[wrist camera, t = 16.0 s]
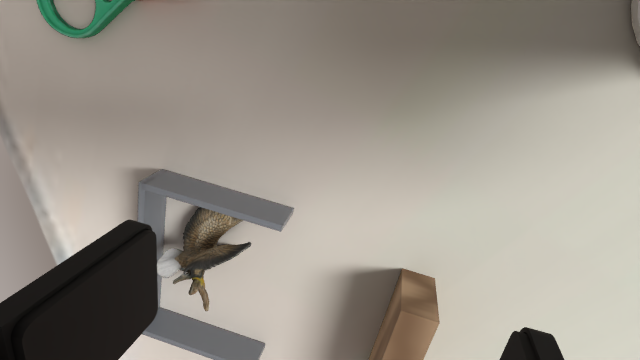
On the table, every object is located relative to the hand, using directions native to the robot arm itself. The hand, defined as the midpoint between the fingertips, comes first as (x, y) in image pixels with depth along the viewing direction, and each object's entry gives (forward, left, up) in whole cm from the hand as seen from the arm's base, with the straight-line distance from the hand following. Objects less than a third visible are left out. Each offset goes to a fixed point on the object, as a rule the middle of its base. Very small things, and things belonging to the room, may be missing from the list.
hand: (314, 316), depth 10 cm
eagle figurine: (+12, +15, -23) cm, 30 cm away
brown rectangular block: (-7, +18, -23) cm, 30 cm away
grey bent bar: (+12, +18, -23) cm, 32 cm away
